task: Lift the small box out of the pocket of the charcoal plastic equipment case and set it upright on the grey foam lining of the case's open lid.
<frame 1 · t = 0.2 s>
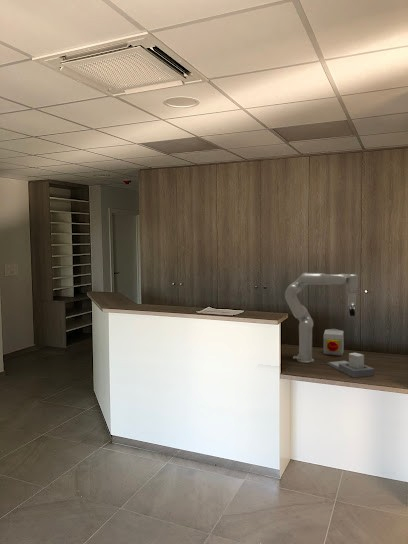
hand: (352, 314, 329), 37 cm above the worktop, fingers open, 9 cm apart
electrical switch box: (333, 354, 361), on the worktop
small box: (356, 373, 312), resting in case
case: (356, 372, 312), on the worktop
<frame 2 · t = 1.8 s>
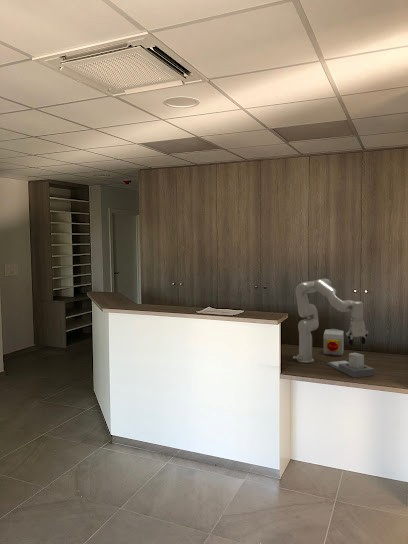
hand: (357, 344, 310), 20 cm above the worktop, fingers open, 9 cm apart
nothing on the worktop moved.
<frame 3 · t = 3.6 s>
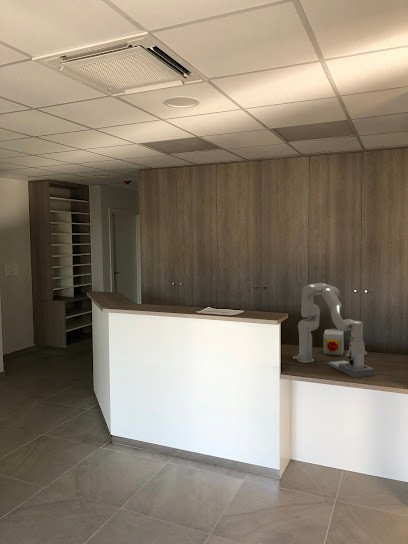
hand: (356, 364, 311), 6 cm above the worktop, fingers closed on small box, 7 cm apart
small box: (356, 373, 312), resting in case, touching gripper
everything else where it was.
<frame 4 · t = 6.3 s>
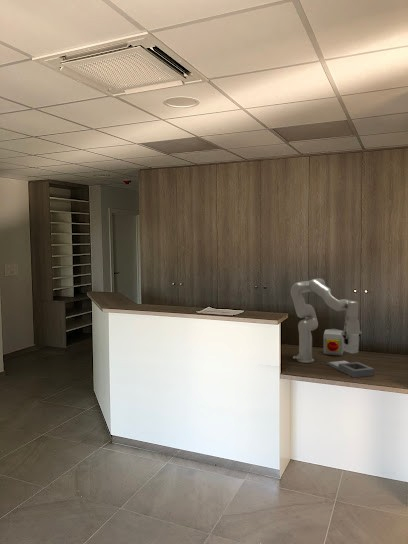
hand: (351, 343, 316), 19 cm above the worktop, fingers closed on small box, 7 cm apart
small box: (350, 352, 317), point 13 cm above the worktop, touching gripper
everything else where it was.
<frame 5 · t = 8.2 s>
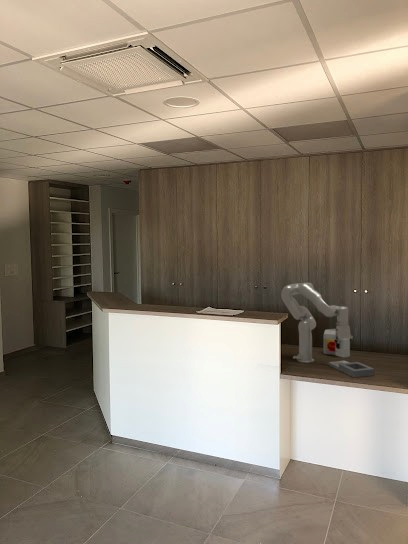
hand: (342, 347, 327), 13 cm above the worktop, fingers closed on small box, 7 cm apart
small box: (342, 356, 327), point 7 cm above the worktop, touching gripper
everything else where it was.
when the fingers open (9 cm above the worktop, at t = 9.5 s): small box drops 1 cm, resting on case.
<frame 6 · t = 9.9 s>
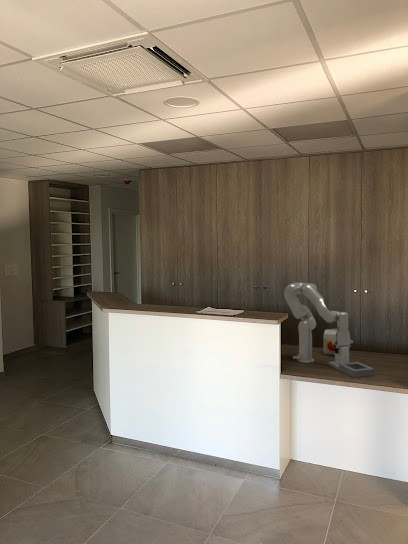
hand: (342, 352, 327), 10 cm above the worktop, fingers open, 9 cm apart
small box: (341, 363, 328), point 2 cm above the worktop, touching case
everything else where it was.
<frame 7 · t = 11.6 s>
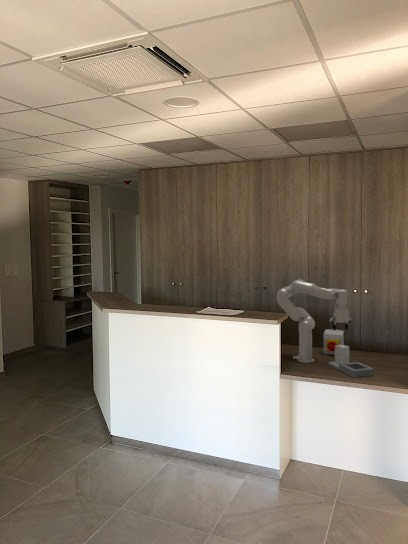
hand: (340, 329, 329), 26 cm above the worktop, fingers open, 9 cm apart
nothing on the worktop moved.
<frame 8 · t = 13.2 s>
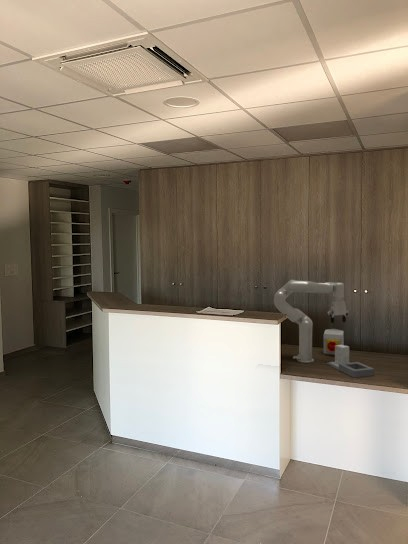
hand: (338, 322, 335), 30 cm above the worktop, fingers open, 9 cm apart
nothing on the worktop moved.
at the end: small box inside the target area on the case (0.2 cm from its centre), point 1.6 cm above the case's base; small box tilted 0°; the gripper is holding nothing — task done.
